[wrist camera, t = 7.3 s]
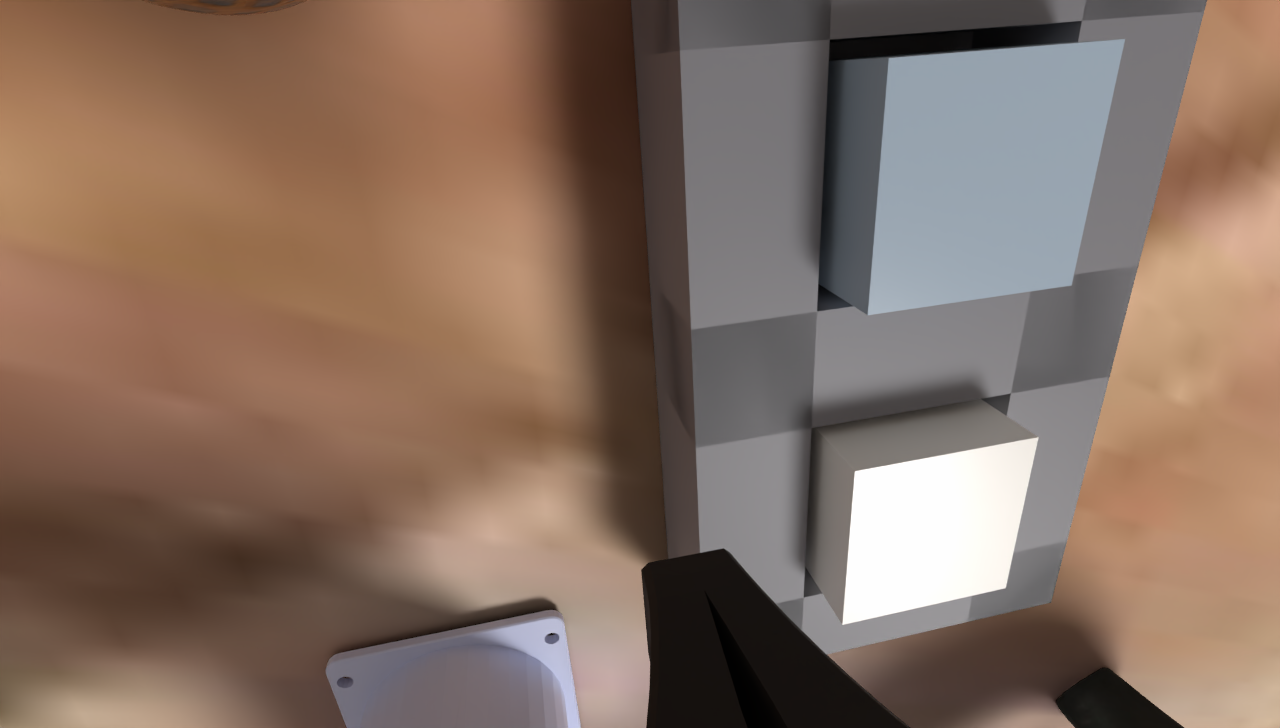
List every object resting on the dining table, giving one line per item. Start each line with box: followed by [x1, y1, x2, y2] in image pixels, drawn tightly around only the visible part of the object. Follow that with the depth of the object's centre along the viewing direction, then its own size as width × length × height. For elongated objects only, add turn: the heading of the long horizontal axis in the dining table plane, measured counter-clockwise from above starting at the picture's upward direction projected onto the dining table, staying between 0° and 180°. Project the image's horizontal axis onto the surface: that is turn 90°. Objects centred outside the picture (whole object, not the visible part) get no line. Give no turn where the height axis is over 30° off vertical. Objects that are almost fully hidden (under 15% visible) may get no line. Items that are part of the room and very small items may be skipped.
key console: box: [631, 0, 1207, 655], centre depth 19 cm, size 20×12×4 cm, turn 4°
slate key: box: [818, 39, 1125, 315], centre depth 15 cm, size 5×5×4 cm
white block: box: [805, 399, 1038, 625], centre depth 19 cm, size 5×5×4 cm
